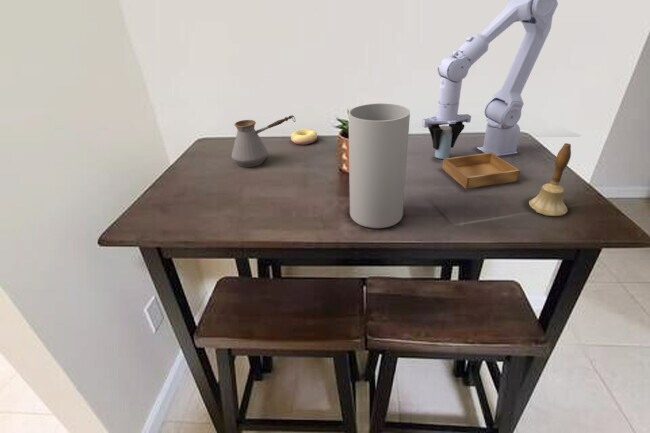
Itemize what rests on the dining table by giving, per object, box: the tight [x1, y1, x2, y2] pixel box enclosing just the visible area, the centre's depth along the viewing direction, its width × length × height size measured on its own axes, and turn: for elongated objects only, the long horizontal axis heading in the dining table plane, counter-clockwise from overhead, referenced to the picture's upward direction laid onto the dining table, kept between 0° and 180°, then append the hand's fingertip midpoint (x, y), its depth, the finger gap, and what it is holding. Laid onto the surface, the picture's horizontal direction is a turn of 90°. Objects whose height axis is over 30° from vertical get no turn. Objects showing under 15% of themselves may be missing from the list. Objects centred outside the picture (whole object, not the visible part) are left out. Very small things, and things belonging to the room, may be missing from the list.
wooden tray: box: [442, 152, 521, 189], centre depth 106 cm, size 15×13×4 cm
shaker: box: [434, 125, 453, 160], centre depth 115 cm, size 4×4×9 cm
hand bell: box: [528, 143, 572, 217], centre depth 87 cm, size 8×8×16 cm
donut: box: [290, 128, 318, 146], centre depth 136 cm, size 10×5×9 cm
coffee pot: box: [231, 114, 296, 168], centre depth 118 cm, size 21×12×15 cm, turn 84°
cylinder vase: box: [347, 103, 411, 229], centre depth 85 cm, size 12×12×25 cm
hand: (443, 147), depth 116 cm, fingers closed on shaker, 4 cm apart
